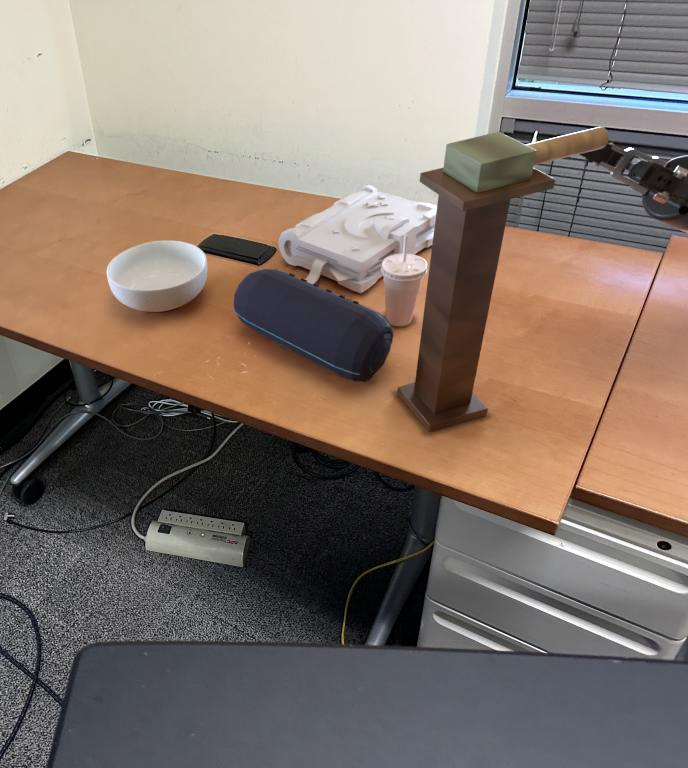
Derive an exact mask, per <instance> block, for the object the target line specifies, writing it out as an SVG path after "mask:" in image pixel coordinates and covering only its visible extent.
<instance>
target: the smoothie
mask: <svg viewBox="0 0 688 768" xmlns="http://www.w3.org/2000/svg"><path fill="white" fill-rule="evenodd" d="M408 236H409V235H408V234H405V235H404V245H403V253H402V254H395V255H391V256H389V257H387V258H385V259H384V260H383V262H382V267H381V272H382V274H383V288H384V289H383V290H384V303H385V305H384V306H385V318H386V319H387V321H388V322H389V324H390V326H394V327H404V326H408V325H410V324H411V322H412V320H413V317H414V314H415V310H416V306H417V302H418V298H419V295H420V291H421V287H422V284H423V280H424V277H425V276H426V275H427V273H428V261H426V259H425V258H423V257H422V256H420V255H416V254H407V246H408Z"/></svg>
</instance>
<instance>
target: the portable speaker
mask: <svg viewBox="0 0 688 768" xmlns="http://www.w3.org/2000/svg"><path fill="white" fill-rule="evenodd" d="M232 305H233V309H234V312H235V314H236V316H237V318H238V319H239V321H240V322H241V323H243V325H245V326H246V327H248V328H249V329H250V330H252V331H253V332H255V333H257V334H259V335H260V336H262V337H264V338H266V339H268V340H270V341H272V342H274V343H275V344H278V345H279V346H281V347H283V348H285V349H287V350H289V351H291V352H293V353H295V354H297V355H299V356H301V357H302V358H304V359H306V360H308V361H310V362H312V363H314V364H316V365H318V366H319V367H321V368H323V369H326V370H327V371H329V372H331V373H333V374H334V375H337V376H339V377H340V378H342V379H343V378H344V379H346V380H349V381H353V382H354V383H355V382H356V383H366V382H369V381H370V380H371V379H373V378H374V377H375V375H376V374H377V373H378V372H379V371H380V369H381V368H382V367H383V366H385V364H386V361H387V359H388V357H389V354H390V352H391V348H392V344H393V341H394V329H393V327H392V325H391V324H389V322H388V321H387V319H386V316H384V315H382V314H381V313H380V312H379V311H377V310H374V309H372V308H369V307H368V306H365V305H362V304H360V302H359V301H358V300H357V301H356V300H351V299H348V298H346V296H345V295H343V294H337V293H334V292H333V290H331V289H329V288H326V289H325V288H322V287H321V286H320V285H319V284H318V283H315V284H314V285H313V284H311V283H309V282H307V280H306V278H299V277H297V276H296V275H295V274H294V273H292V272H290V273H288V272H287V271H283V270H280V269H278V268H275V269H273V268H271V269H270V268H264V269H257V270H254V271H252V272H250V273H248V274H247V275H246V276H245V277H243V278H242V280H241V281H240V282H239V284H238V285H237V288H236V290H235V292H234V295H233V303H232Z"/></svg>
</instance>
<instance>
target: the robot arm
mask: <svg viewBox="0 0 688 768" xmlns="http://www.w3.org/2000/svg"><path fill="white" fill-rule="evenodd" d="M578 156H580V157H583V158H584V159H585V160H586V162H588V163H590V164H591V163H593V164H594V166H596V167H602V168H604V169H606V170H608V171H609V176H610V177H612V178H613V179H616V180H617V181H619V182H622V183H624V184H626V185H628V186H630V188H631V190H633V191H636V192H637V193H640V194H642V195H641V203H642V206H643V210H644V211H645V213H646V214H647V215H648V216H649V217H650V218H652V219H654V220H656V221H658V222H660V223H663V224H665V225H667V226H670V227H672V228H674V229H677V230H678V231H681V232H683V233H686V234H688V155H681V156H677V157H675V158H672V159H670V160H665V159H664V158H661V157H658V156H650V155H648V154H646V153H643V152H642V151H640V150H638V149H636V148H632V147H627V148H626V149H623V148H621V147H619V146H616V144H615V143H614V142H611V141H610V142H608V143H607V145H606V146H605V147H604V148H602V149H598V150H594V151H590V152H586V153H582V154H578ZM636 157H638V158H640V160H637V161H636V162H635V163H634V162H633V161H634V159H635V158H636ZM626 171H628V174H627V177H625V176H623V174H624V173H625V172H626Z"/></svg>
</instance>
